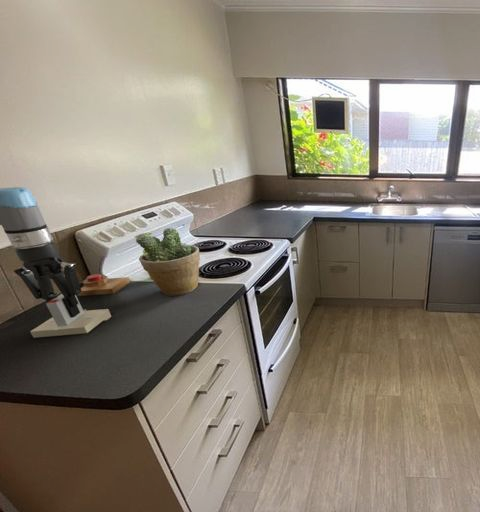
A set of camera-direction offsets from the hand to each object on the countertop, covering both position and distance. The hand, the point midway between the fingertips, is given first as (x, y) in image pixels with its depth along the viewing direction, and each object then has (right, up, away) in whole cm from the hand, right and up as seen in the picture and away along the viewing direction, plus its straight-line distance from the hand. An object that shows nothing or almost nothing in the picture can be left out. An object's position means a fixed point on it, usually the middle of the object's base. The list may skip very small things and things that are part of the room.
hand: (69, 315), depth 89 cm
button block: (-13, +5, +25) cm, 29 cm away
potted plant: (+17, +5, +25) cm, 31 cm away
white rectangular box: (0, -1, +1) cm, 1 cm away
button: (-16, +9, +24) cm, 31 cm away
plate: (0, -4, +2) cm, 5 cm away
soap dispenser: (+2, +9, +34) cm, 35 cm away
